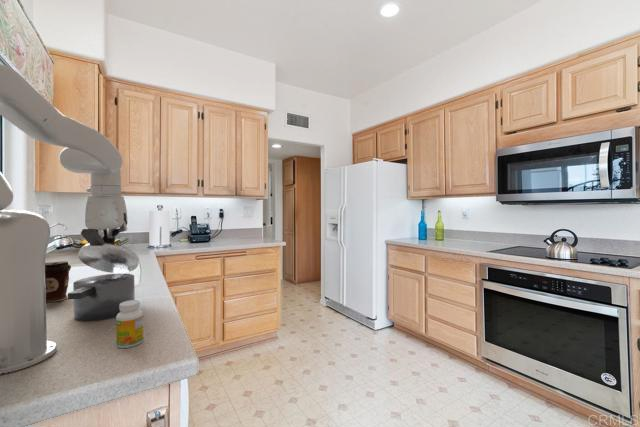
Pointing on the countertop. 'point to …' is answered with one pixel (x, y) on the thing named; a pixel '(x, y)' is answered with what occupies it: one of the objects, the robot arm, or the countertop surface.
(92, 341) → the countertop surface
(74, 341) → the countertop surface
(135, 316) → the supplement bottle
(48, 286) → the coffee cup
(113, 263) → the cooker lid
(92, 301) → the cooker pot
